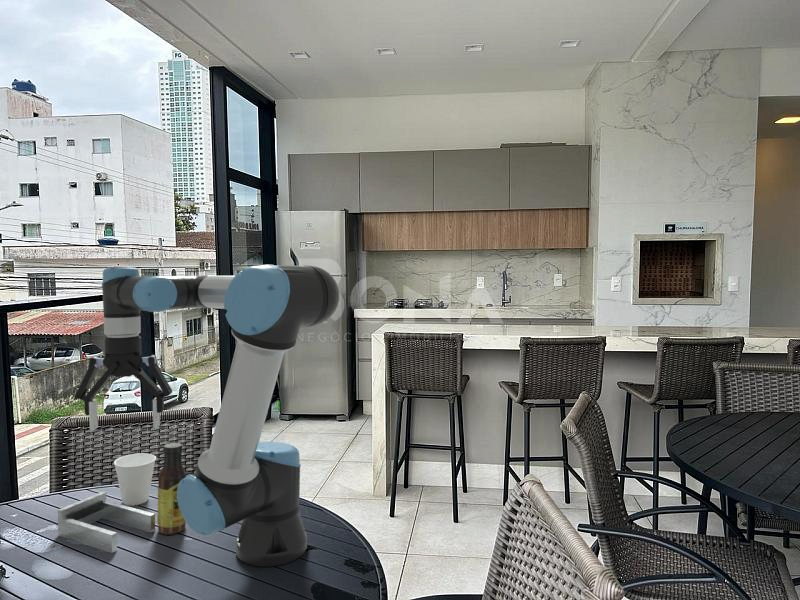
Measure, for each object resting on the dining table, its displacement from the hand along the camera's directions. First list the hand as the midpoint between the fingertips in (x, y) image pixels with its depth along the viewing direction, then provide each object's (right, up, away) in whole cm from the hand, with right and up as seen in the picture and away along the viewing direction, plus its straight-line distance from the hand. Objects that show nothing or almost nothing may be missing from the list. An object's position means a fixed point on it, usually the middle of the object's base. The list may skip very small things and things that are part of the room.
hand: (125, 427), depth 130 cm
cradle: (-3, -24, -1) cm, 24 cm away
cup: (-5, -23, +17) cm, 29 cm away
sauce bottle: (+10, -24, +2) cm, 26 cm away
